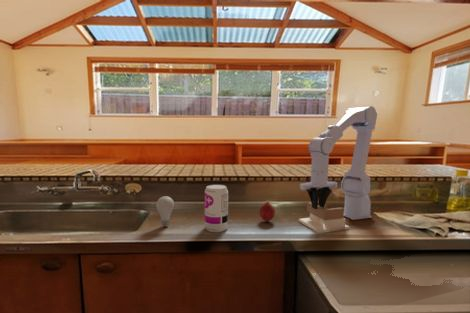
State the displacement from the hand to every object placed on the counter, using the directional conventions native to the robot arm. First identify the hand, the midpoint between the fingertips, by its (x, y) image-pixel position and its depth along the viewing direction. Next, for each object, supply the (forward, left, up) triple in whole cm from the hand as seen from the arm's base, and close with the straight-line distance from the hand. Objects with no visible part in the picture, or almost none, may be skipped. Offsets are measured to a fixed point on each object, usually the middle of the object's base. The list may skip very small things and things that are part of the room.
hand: (317, 207), depth 93 cm
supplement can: (+36, -8, -7) cm, 38 cm away
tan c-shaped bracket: (-3, 0, -3) cm, 4 cm away
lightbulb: (+53, -15, -7) cm, 56 cm away
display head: (-3, 0, -7) cm, 7 cm away
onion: (+16, -9, -7) cm, 20 cm away
